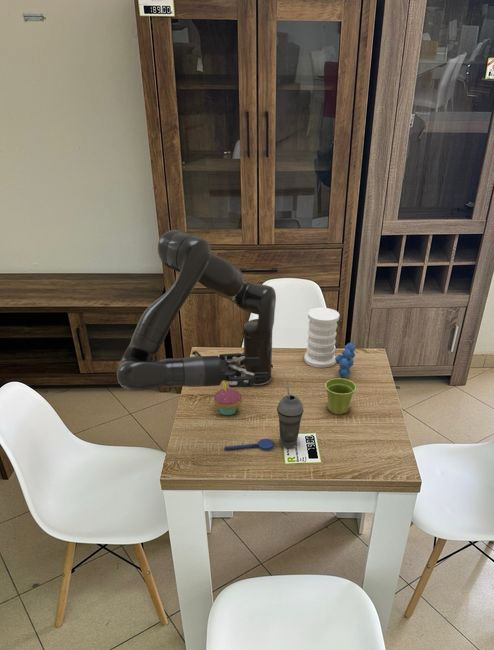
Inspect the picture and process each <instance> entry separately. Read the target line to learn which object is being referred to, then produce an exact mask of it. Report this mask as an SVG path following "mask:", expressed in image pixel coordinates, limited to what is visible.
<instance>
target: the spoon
mask: <svg viewBox="0 0 494 650" xmlns="http://www.w3.org/2000/svg"><path fill="white" fill-rule="evenodd" d="M274 447H275V442H274V441H273V440H272V439H270V438H262V439H260V440H259V441H258V443H250V444H249V443H247V444H241V445H240V444H239V445H230V446H229V445H228V446H224V447H223V448H224V450H226V451H229V450H238V449H249V448H250V449H251V448H259V449H260V450H262V451H271V450H273V448H274Z"/></svg>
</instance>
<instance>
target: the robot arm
mask: <svg viewBox="0 0 494 650" xmlns="http://www.w3.org/2000/svg"><path fill="white" fill-rule="evenodd" d="M157 254H158V257H159V259H160V261H161V262H162V264H163V265H164V266H166V267H167V268H168V269H170V270H173V271H176V272H178V275H177V277H176V279H175V281H174V282H173V284H172V285H171V287H170V288H169V289H167V291H166V292H164V293H163V294H162V295H161V296H160V297H158V298H157V299H156V300H155V301H153V302H152V303H151V304H150V305H149V306H148V307H147V308H146V309H145V310H144V311H143V313H142V314H141V316H140V318H139V320H138V323H137V324H136V327H135V329H134V332H133V334H132V336H131V339H130V342H129V345H128V346H127V348H126V350H125V352H124V354H123V355H122V358H121V359H120V361H119V363H118V365H117V368H116V372H115V373H116V380H117V382H118V384H119V386H121V388H123V389H125V390H127V391H131V392H132V391H133V392H137V391H139V392H140V391H147V390H154V389H160V388H181V387H185V388H186V387H187V388H201V387H202V388H203V387H218V386H219V387H220V386H221V384H222V383H223V381H225V382H228V388H229V389H230V388H231V389H235V388H236V389H237V388H238V389H239V388H253V387H262V386H266V385H268V384H270V383H271V382H272V369H274V365H273V364H272V362H273V361H272V360H273V329H274V325H275V314H276V303H277V294H276V290H275V288H274V287H273V286H270V285H266V284H261V283H257V282H254V281H253V282H252V281H249V280H245V278H244V275H243V272H242V270H241V269H240V268H238V266H236V265H235V264H234V263H232V262H231V261H229V260H227V259H225V258H224V257H221V256H220V255H217V254H215V253H212V249H211V246H210V243H209V242H208V240H206V239H204V238H202V237H201V236H197V235H195V234H192V233H189V232H186V231H183V230H180V229H171V230H168V231H166V232H164V234H162V235H161V236H160V237H159V240H158V243H157ZM198 283H199V284H200V285H202V286H203V287H205V288H206V289H208V290H209V291H211V292H212V293H214V294H216V295H218V296H220V297H222V298H224V299H227V300H229V301H231V302H232V303H234V304H235V305H236V306H237V307H238V308H239V309H241V311H244V312H246V313H250V314H254V315H257V316H258V318H255V319H251V320H249V321H248V320H247V321H246V322H245V323H244V325H243V352H242V353H240V352H236V353H221V354H218V355H201V354H200V353H199V351H196V350H194V351H192V353H191V354H193V356H187V357H186V356H185V357H172V358H170V357H169V358H162V359H159V360H154V358H155V356H156V355H157V354H158V353H159V351H160V350H161V348H162V346H163V344H164V342H165V339H166V337H167V335H168V333H169V331H170V328H171V326H172V324H173V322H174V321H175V319H176V317H177V316H178V313H179V312H180V310H181V309H182V307H183V306H184V305H185V303H186V301H187V300H188V298H189V297H190V295H191V294H192V292H193V291H194V289H195V287H196V286H197V284H198ZM195 354H196V355H197V356H196V355H195ZM194 355H195V356H194Z"/></svg>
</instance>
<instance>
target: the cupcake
mask: <svg viewBox="0 0 494 650" xmlns="http://www.w3.org/2000/svg"><path fill="white" fill-rule="evenodd" d="M222 383H223V388H221V389H219V390H217V391H216V392H215V393H214V394H213V403H214V404H215V405H216V406H217V408H218V410H219V412H220V414H222V415H224V416H232V415H234V414H235V413H236V411H237V409H238V406H240V405H241V403H242V402H243V396H242V394H241V393H240V392H239V391H237V389H235V388H230V387H227V385H226V384H227V383H226V381H222Z"/></svg>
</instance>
